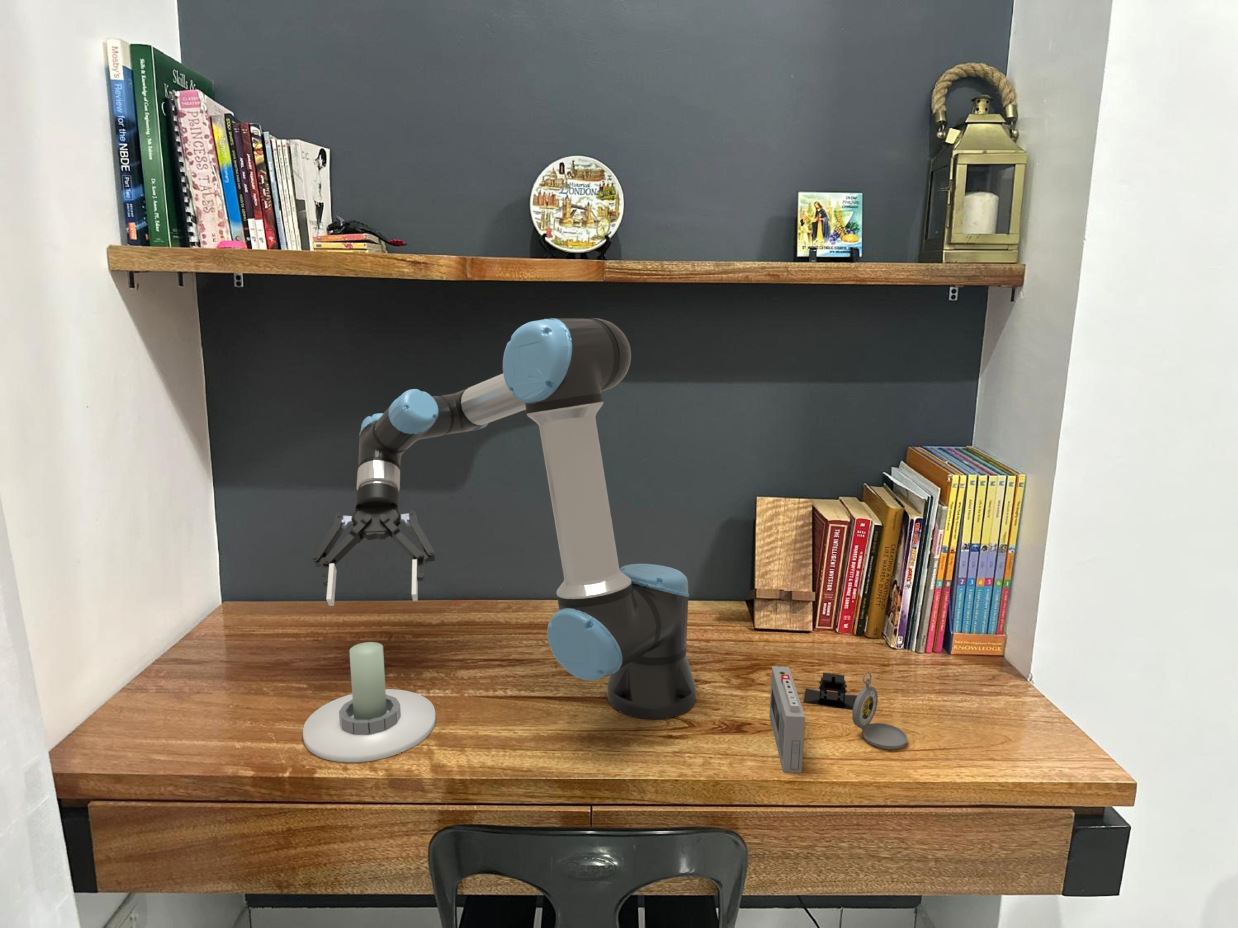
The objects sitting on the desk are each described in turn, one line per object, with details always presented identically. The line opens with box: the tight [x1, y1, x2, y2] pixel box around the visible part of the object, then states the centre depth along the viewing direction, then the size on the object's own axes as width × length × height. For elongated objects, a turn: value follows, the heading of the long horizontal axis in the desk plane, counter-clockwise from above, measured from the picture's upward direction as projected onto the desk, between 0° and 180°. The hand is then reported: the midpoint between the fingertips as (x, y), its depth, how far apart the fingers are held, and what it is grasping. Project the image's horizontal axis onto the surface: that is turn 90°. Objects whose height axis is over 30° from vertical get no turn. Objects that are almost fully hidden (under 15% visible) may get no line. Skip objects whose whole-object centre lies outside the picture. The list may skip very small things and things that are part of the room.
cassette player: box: [768, 665, 806, 774], centre depth 122 cm, size 16×3×10 cm, turn 177°
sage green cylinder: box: [349, 641, 387, 720], centre depth 125 cm, size 5×5×12 cm
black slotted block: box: [802, 672, 858, 711], centre depth 136 cm, size 12×7×5 cm, turn 73°
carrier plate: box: [302, 688, 436, 764], centre depth 126 cm, size 20×20×3 cm
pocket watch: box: [851, 671, 908, 750], centre depth 124 cm, size 8×8×10 cm
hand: (372, 600), depth 133 cm, fingers open, 13 cm apart
